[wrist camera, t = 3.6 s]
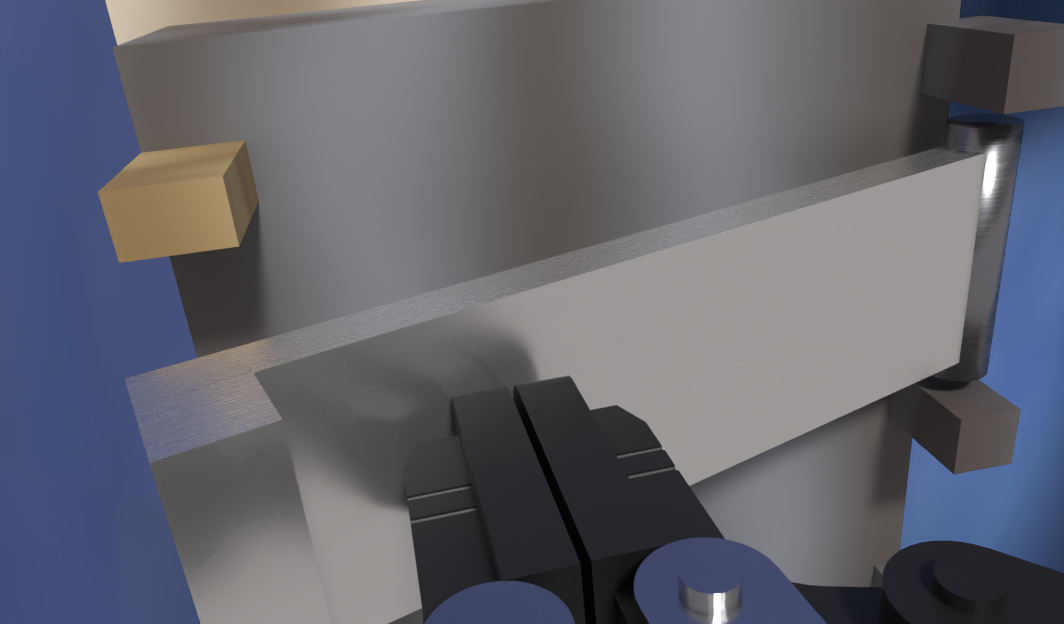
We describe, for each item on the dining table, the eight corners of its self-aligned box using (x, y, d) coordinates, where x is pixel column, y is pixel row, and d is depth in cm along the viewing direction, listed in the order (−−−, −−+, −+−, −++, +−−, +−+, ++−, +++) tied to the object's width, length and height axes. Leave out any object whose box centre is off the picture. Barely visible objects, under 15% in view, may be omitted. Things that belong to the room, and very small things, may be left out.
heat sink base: (850, -194, 19) (1177, -291, 11) (798, 713, 30) (944, 969, 23) (97, -136, 17) (-123, -207, 9) (344, 814, 28) (336, 1134, 21)
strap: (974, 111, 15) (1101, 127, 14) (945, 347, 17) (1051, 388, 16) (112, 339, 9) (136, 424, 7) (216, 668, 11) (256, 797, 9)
